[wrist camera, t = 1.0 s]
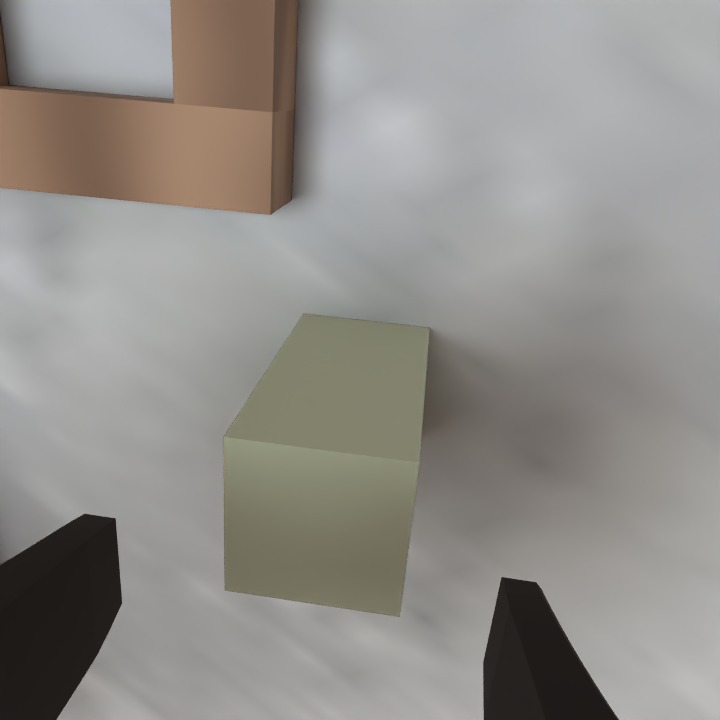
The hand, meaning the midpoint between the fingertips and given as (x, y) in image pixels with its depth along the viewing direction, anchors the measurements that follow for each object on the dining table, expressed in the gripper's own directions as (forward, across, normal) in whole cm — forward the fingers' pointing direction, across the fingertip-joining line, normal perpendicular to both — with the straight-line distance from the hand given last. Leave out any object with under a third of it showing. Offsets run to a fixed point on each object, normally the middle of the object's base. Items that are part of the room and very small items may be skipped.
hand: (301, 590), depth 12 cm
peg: (+10, 0, 0) cm, 10 cm away
